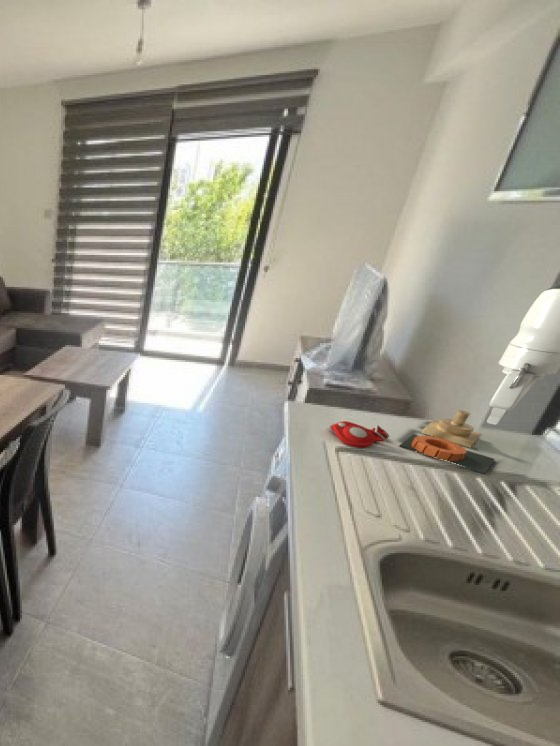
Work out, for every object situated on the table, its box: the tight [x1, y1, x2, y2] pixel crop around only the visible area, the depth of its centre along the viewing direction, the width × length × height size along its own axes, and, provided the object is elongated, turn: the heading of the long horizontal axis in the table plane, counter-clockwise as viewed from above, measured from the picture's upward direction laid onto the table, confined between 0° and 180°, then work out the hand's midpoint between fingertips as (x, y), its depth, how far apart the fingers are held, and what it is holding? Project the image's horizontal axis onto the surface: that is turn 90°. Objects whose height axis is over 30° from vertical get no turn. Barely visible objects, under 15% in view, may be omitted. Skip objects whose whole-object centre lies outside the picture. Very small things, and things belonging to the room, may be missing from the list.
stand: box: [421, 409, 482, 449], centre depth 127 cm, size 10×10×7 cm
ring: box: [411, 435, 468, 461], centre depth 118 cm, size 10×10×2 cm
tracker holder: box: [330, 420, 390, 449], centre depth 123 cm, size 12×4×10 cm
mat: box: [398, 433, 496, 475], centre depth 119 cm, size 16×12×1 cm
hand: (495, 418), depth 111 cm, fingers open, 8 cm apart
